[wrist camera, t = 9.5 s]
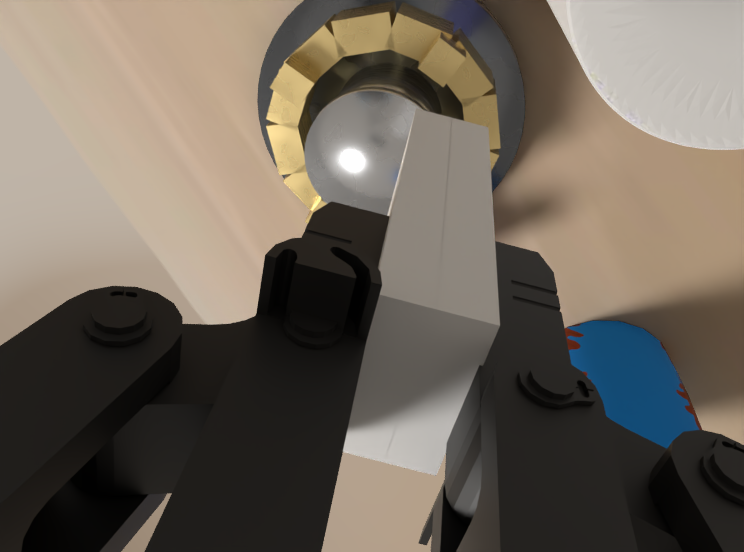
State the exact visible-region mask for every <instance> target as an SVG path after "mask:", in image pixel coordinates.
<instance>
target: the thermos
mask: <svg viewBox="0 0 744 552" xmlns="http://www.w3.org/2000/svg"><path fill="white" fill-rule="evenodd" d="M565 334H566V339H567V344H568V349H569V354H570V359H571V364H572V365H573V366H574V367H576V368H577V369H579V370H581V371H582V372H583V373H584V374H585V375H586V376H587V378H588V379H589V380H590V381H591V382H592V383H593V384H594V385H595V386H596V388H597V390H598V392H599V395H600V397H601V399H602V401H603V404H604V408H605V413H606V416H607V417H608V418H610V419H611V420H613V421H614V422H616V423H618V424H620V425H621V426H623V427H625V428H626V429H628V430H630V431H632V432H634V433H636V434H638V435H640V436H642V437H644V438H646V439H648V440H650V441H652V442H654V443H656V444H658V445H661V446H663V447H665V448H668V447H669V445H670V444H671V443H672V441H673V440H674V439H675V438H676V437H678V436H679V435H680V434H681V433H682V432H685V431H693V430H702V428H701V425H700V423H699V421H698V418H697V416H696V413H695V411H694V408H693V406H692V403H691V401H690V398H689V396H688V394H687V392H686V390H685V388H684V386H683V384H682V382H681V379H680V377H679V375H678V373H677V371H676V369H675V367H674V365H673V363H672V361H671V359H670V358H669V356H668V354H667V352H666V350H665V349H664V347H663V345H662V343H661V342H660V341H659V340H658V339H656V338H655V337H654V336H652V335H651V334H650V333H648V332H647V331H646V330H644V329H643V328H640V327H636V326H633V325H630V324H627V323H624V322H621V321H589V322H585V323H582V324H578V325H574V326H570V327H567V328H565Z"/></svg>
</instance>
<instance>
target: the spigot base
mask: <svg viewBox="0 0 744 552" xmlns="http://www.w3.org/2000/svg"><path fill="white" fill-rule="evenodd" d="M391 1H395V4H396V11H397V12H398V10H399V8H400V6H401V4H402V2H405V3H407V4H409V5H412V6H414V7H417V8H419V9H422V10H424V11H427V12H429V13H431V14H434V15H436V16H439V17H441V18H444V19H446V20H448V21H451V22H453V23H454V29H453V33H454V32H455V31H457V30H458V29H459V28H461V29H462V31H463V32H464V34H465V35H466V36H467V38H468V39H469V40H470V42H471V43H472V45H473V46H474V47H475V49H476V50H477V51H478V53H479V54H480V55H481V57H482V58H483V60H484V61H485V62H486V64H487V65H488V66H489V68H490V69H491V71H492V76H493V78H495V87H496V97H497V109H498V122H499V134H500V146H501V148H500V149H499V157H498V159H497V161H496V163H495V165H494V167H493V169H492V171H491V181H492V192H493V190H494V189H495V188H496V187H497V186H498V184H499V183H500V182H501V181H502V179H503V177H504V176H505V174H506V173H507V171H508V169H509V168H510V166H511V164H512V161H513V159H514V157H515V155H516V153H517V150H518V147H519V143H520V140H521V136H522V132H523V125H524V118H525V96H524V88H523V80H522V76H521V72H520V68H519V64H518V61H517V57H516V55H515V52H514V50H513V47H512V45H511V43H510V40H509V39H508V37H507V35H506V34H505V32H504V30H503V28H502V27H501V25H500V24H499V22H498V21H497V20H496V19H495V17H494V16H493V15H492V14H491V12H490V11H489V10H488V9H487V8H486V7H485V6H484V5H483V4H482V3H481V2H480V1H478V0H304V1H303V2H302V3H301V4H299V5H298V6H297V7H296V8H295V9H294V10H293V11H292V13H291V14H290V15H289V16H288V17H287V18H286V19H285V20H284V22H283V23H282V25H281V26H280V28H279V29H278V31H277V32H276V34H275V35H274V37H273V39H272V41H271V43H270V45H269V47H268V49H267V52H266V55H265V58H264V61H263V64H262V67H261V73H260V78H259V84H258V113H259V120H260V125H261V130H262V134H263V137H264V140H265V143H266V146H267V149H268V151H269V153H270V155H271V157H272V159H273V162H274V164H275V165H276V167H277V164H276V160H275V157H274V153H273V149H272V146H271V142H270V139H269V135H268V131H267V128H266V126H267V124H268V123H269V122H270V121H269V120H267V119H266V117H267V114H268V110H269V106H270V103H271V99H272V95H273V91H274V90H272V89H271V88H270V86H271V85H272V83H273V81H274V80H275V78H276V76H277V75H278V73H279V69H280V68H281V67H282V66H283V64H284V61H285V60H286V59H287V58H288V57H289V56H290V55H291V54H292V53H293V52H294V50H295V49H296V48H297V47H299V46H300V45H301V44H302V43H303V42H304V41H305V40H306V39H307V38H308V37H309V36H311V35H312V34H313V33H314V32H315V31H316V30H317V29H318V28H319V27H320V26H321V25H323V24H324V23H325V22H326V21H327V20H328V19H329V18H330V17H331V16H332V15H333V14H335V15H336V16H337V14H338V13H339V12H340V11H341V10H345V9H351V8H357V7H362V6H368V5H374V4H380V3H386V2H391ZM418 65H419V61H417V60H415V59H412V58H410V57H408V56H405V55H403V54H400V53H398V52H395V51H393V50H390V49H388V50H382V51H376V52H369V53H363V54H357V55H350V56H344V57H342V58H341V59H340V60H339V61H338V62H337V63H336V64H334V65H333V66H332V67H331V68H330V69H329V70H327V71H326V72H325V73H324V74H323V75H322V76H321V77H319V78H318V81H317V85H316V88H315V91H314V94H313V98H312V101H311V104H310V108H309V112H310V116H311V120H312V126H311V127H310V130H309V132H308V135H307V139H306V143H305V151H304V156H305V166H306V171H307V174H308V177H309V179H310V182H311V184H312V186H313V187H314V189H315V191H316V192H317V194H318V195H319V196H320V197H321V199H322V200H323V201H324V202H325V203H326V204H328V203H330V202H331V201H333V202H337V203H341V204H344V205H348V206H352V207H356V208H360V209H364V210H367V211H371V212H375V213H379V214H383V215H388V211H389V207H390V204H391V200H392V196H393V192H394V189H395V185H396V181H397V177H398V174H399V170H400V166H401V162H402V159H403V155H404V151H405V147H406V143H407V140H408V136H409V132H410V128H411V125H412V121H413V117H414V113H415V110H416V108H417V109H420V110H424V111H428V112H432V113H436V114H439V115H443V116H447V117H451V118H455V119H459V120H462V121H464V115H463V106H462V103H461V102H460V100H459V99H458V98H457V97H456V95H455V94H454V93H453V91H452V90H451V89H450V87H449V86H448V85H447V84H445V86H444V87H442V86H441V85H439V84H438V83H437V82H435V81H434V80H433V79H431V78H430V77H429V76H427V75H426V74H425V73H423V72H422V71H421V70H419V69H418ZM286 175H287V174H285V175H282V176H283V178H284V179H285V177H286Z"/></svg>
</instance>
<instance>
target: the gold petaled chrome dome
mask: <svg viewBox="0 0 744 552" xmlns="http://www.w3.org/2000/svg"><path fill="white" fill-rule="evenodd" d="M453 29H454V23H453V22H451V21H448V20H446V19H444V18H441V17H439V16H436V15H434V14H431V13H429V12H427V11H424V10H422V9H419V8H417V7H414V6H412V5H409V4H407V3H405V2H402V4H401V6H400V8H399V10H398V12H397V11H396V4H395V1H391V2H386V3H380V4H374V5H368V6H362V7H357V8H351V9H345V10H341V11H340V12H339V13H338V14H337V16H336V15H335V14H333V15H332V16H331V17H330V18H329V19H328V20H327V21H326V22H325V23H324V24H323V25H321V26H320V27H319V28H318V29H317V30H316V31H315V32H314V33H313V34H312V35H311V36H309V37H308V38H307V39H306V40H305V41H304V42H303V43H302V44H301V45H300V46H299V47H297V48H296V49H295V50H294V52H293V53H292V54H291V55H290V56H289V57H288V58H287V59H286V60H285V61H284V64H283V66H282V67H281V68H280V69H279V73H278V75H277V76H276V78H275V80H274V81H273V83H272V85H271V86H270V88H271V89H272V90H274V91H273V95H272V99H271V103H270V106H269V110H268V114H267V117H266V119H267V120H269V121H270V122H269V123H268V124H267V126H266V128H267V131H268V135H269V139H270V142H271V146H272V149H273V153H274V157H275V160H276V164H277V168H278V171H279V175H285V174H287V175H286V177H285V179H284V180H283V182H284V183H285V184H286V185H287V186H288V187H289V188H290V189H291V190H292V191H293V192H294V193H295V194H296V196H297V197H298V198H299V199H300V200H301V201H302V202H303V203H304V204H305V205H306V206H307V207H308V208H309V209H310V212H309V214H308V216H307V218H306V221H305V222H306V223H309V220H310V218H311V216H312V214H313V212H315V211H316V210H318V209H320V208H321V207H323V206H325V205H326V203H325V202H324V201H323V200H322V199H321V197H320V196H319V195H318V194H317V192H316V191H315V189H314V187H313V186H312V184H311V182H310V179H309V177H308V174H307V171H306V166H305V156H304V151H305V143H306V139H307V135H308V132H309V130H310V127H311V126H312V120H311V116H310V112H309V108H310V104H311V101H312V98H313V94H314V91H315V88H316V85H317V81H318V78H319V77H321V76H322V75H323V74H324V73H325V72H326V71H327V70H329V69H330V68H331V67H332V66H333V65H334V64H336V63H337V62H338V61H339V60H340V59H341V58H342V57H344V56H350V55H357V54H363V53H369V52H376V51H382V50H388V49H390V50H393V51H395V52H398V53H400V54H403V55H405V56H408V57H410V58H412V59H415V60H417V61H419V65H418V69H419V70H421V71H422V72H423V73H425V74H426V75H427V76H429V77H430V78H431V79H433V80H434V81H435V82H437V83H438V84H439V85H441V86H442V87H444V86H445V84H447V85H448V86H449V87H450V89H451V90H452V91H453V93H454V94H455V95H456V97H457V98H458V99H459V100H460V102H461V103H462V106H463V115H464V121H466V122H470V123H474V124H478V125H482V126H485V127H488V130H489V147H490V164H491V171H492V169H493V167H494V165H495V163H496V161H497V159H498V157H499V149H500V148H501V146H500V134H499V122H498V109H497V97H496V87H495V78H493V76H492V71H491V69H490V68H489V66H488V65H487V64H486V62H485V61H484V60H483V58H482V57H481V55H480V54H479V53H478V51H477V50H476V49H475V47H474V46H473V45H472V43H471V42H470V40H469V39H468V38H467V36H466V35H465V34H464V32H463V31H462V29H461V28H459V29H458V30H457V31H455V32H454V33H453Z"/></svg>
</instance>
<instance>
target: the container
mask: <svg viewBox="0 0 744 552" xmlns="http://www.w3.org/2000/svg"><path fill="white" fill-rule="evenodd" d="M547 2H548V4H549V6H550V8H551V9H552V11H553V13H554V15H555V17H556V19H557V21H558V23H559V24H560V26H561V28H562V30H563V32H564V34H565V36H566V38H567V40H568V41H569V43H570V45H571V47H572V49H573V51H574V53H575V55H576V57H577V58H578V60H579V62H580V64H581V66H582V68H583V70H584V72H585V73H586V75H587V77H588V79H589V80H590V82H591V83H592V85H593V87H594V88H595V89H596V91H597V92H598V93H599V95H600V96H601V97H602V98H603V99H604V100H605V102H606V103H607V104H608V105H609V106H610V107H611V108H612V109H613V110H614V111H616V112H617V113H618V114H619V115H620V116H621V117H623V118H624V119H625V120H627V121H628V122H630V123H631V124H633V125H634V126H636V127H637V128H639V129H641V130H643V131H645V132H646V133H649V134H651V135H653V136H655V137H658V138H660V139H663V140H666V141H669V142H672V143H675V144H679V145H683V146H688V147H694V148H701V149H713V150H735V149H744V0H547Z"/></svg>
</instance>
